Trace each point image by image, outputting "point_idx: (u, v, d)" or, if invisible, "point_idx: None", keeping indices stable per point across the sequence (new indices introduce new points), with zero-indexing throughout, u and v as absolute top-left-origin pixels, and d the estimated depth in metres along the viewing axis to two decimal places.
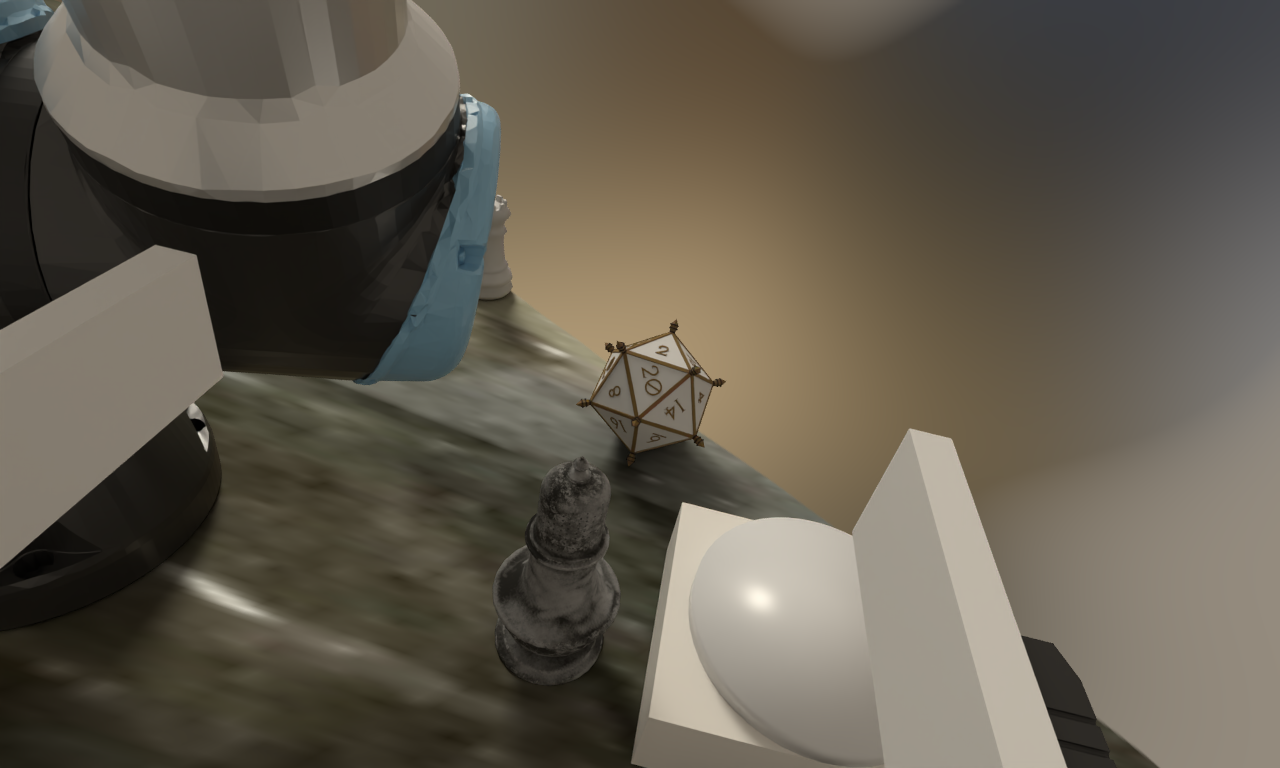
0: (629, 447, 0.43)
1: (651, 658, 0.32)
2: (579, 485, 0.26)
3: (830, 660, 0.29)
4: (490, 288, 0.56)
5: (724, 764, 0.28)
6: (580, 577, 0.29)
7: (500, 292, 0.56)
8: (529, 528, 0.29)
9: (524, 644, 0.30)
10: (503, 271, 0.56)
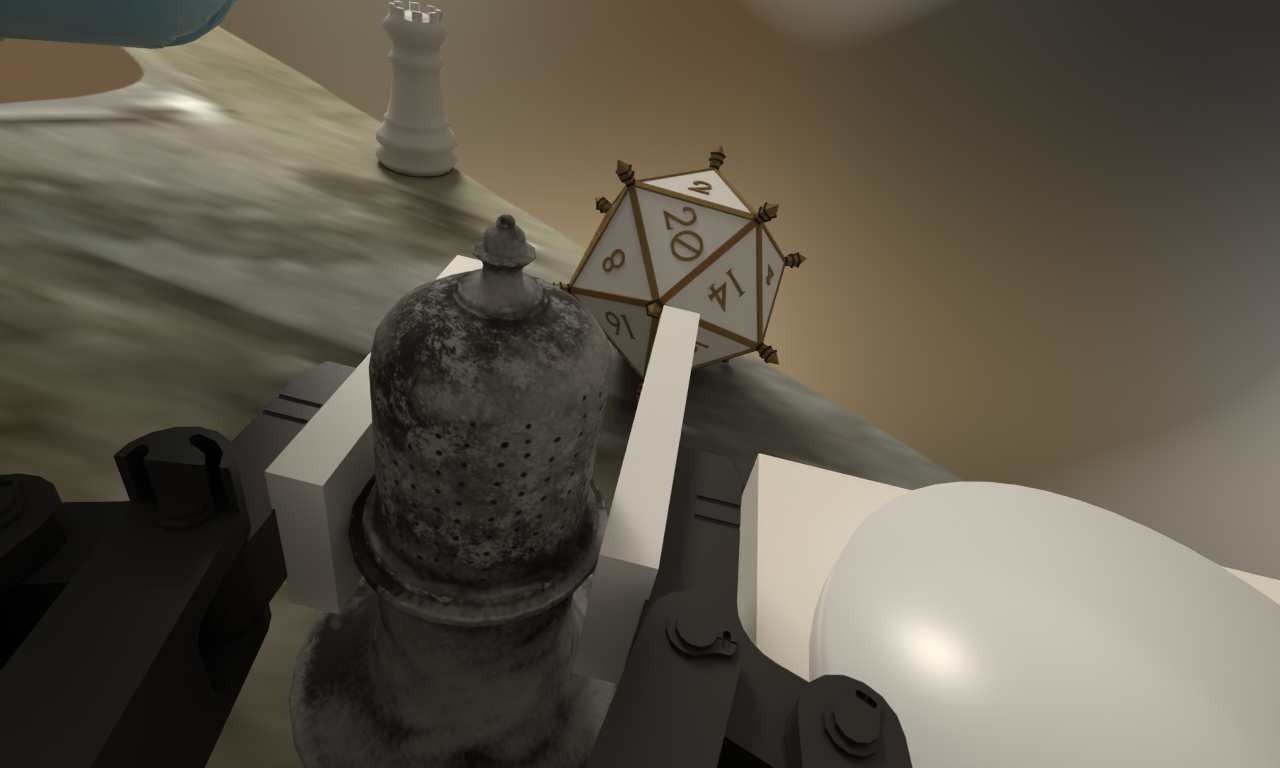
0: (640, 370, 0.24)
1: None
2: (498, 324, 0.07)
3: None
4: (421, 157, 0.37)
5: None
6: (523, 639, 0.10)
7: (437, 165, 0.37)
8: (367, 493, 0.10)
9: None
10: (441, 130, 0.37)
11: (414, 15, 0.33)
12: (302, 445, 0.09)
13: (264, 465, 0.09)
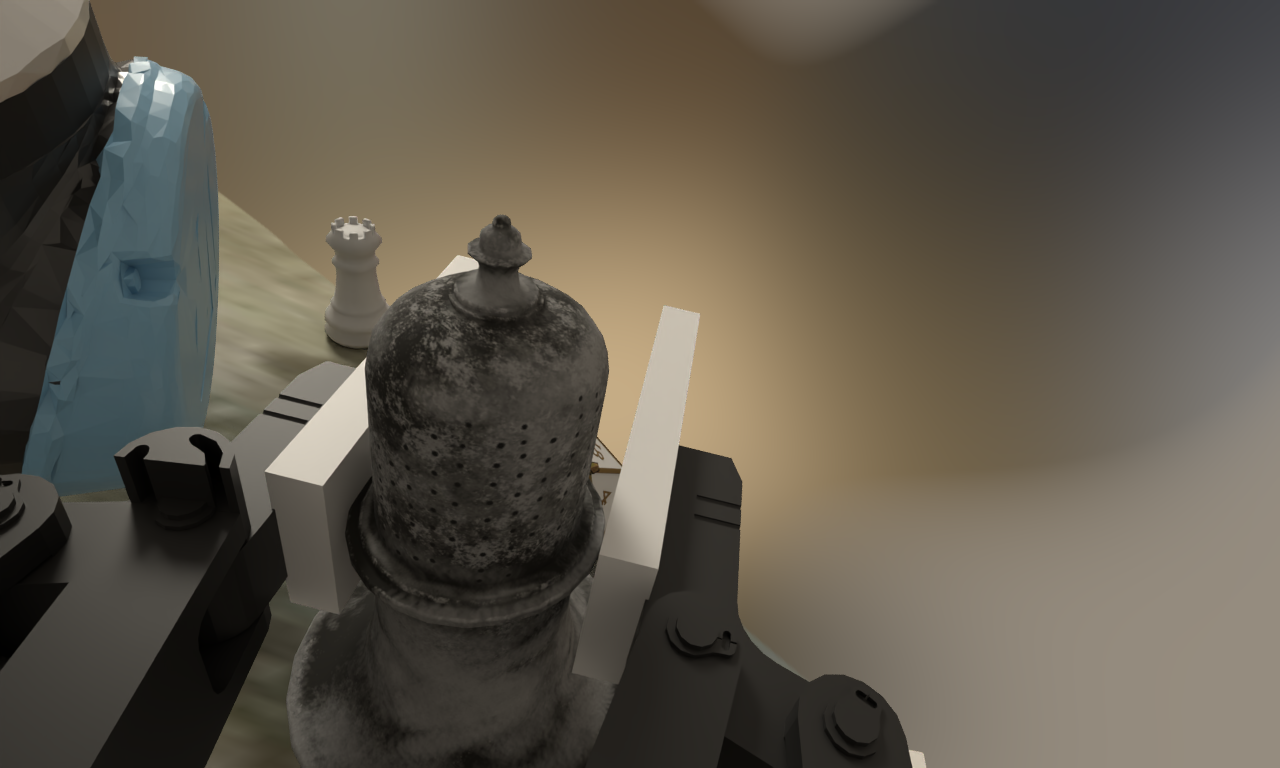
0: None
1: None
2: (494, 324, 0.07)
3: None
4: (362, 335, 0.45)
5: None
6: (520, 639, 0.10)
7: None
8: (364, 494, 0.10)
9: None
10: (379, 312, 0.45)
11: (351, 236, 0.41)
12: (302, 445, 0.09)
13: (264, 465, 0.09)
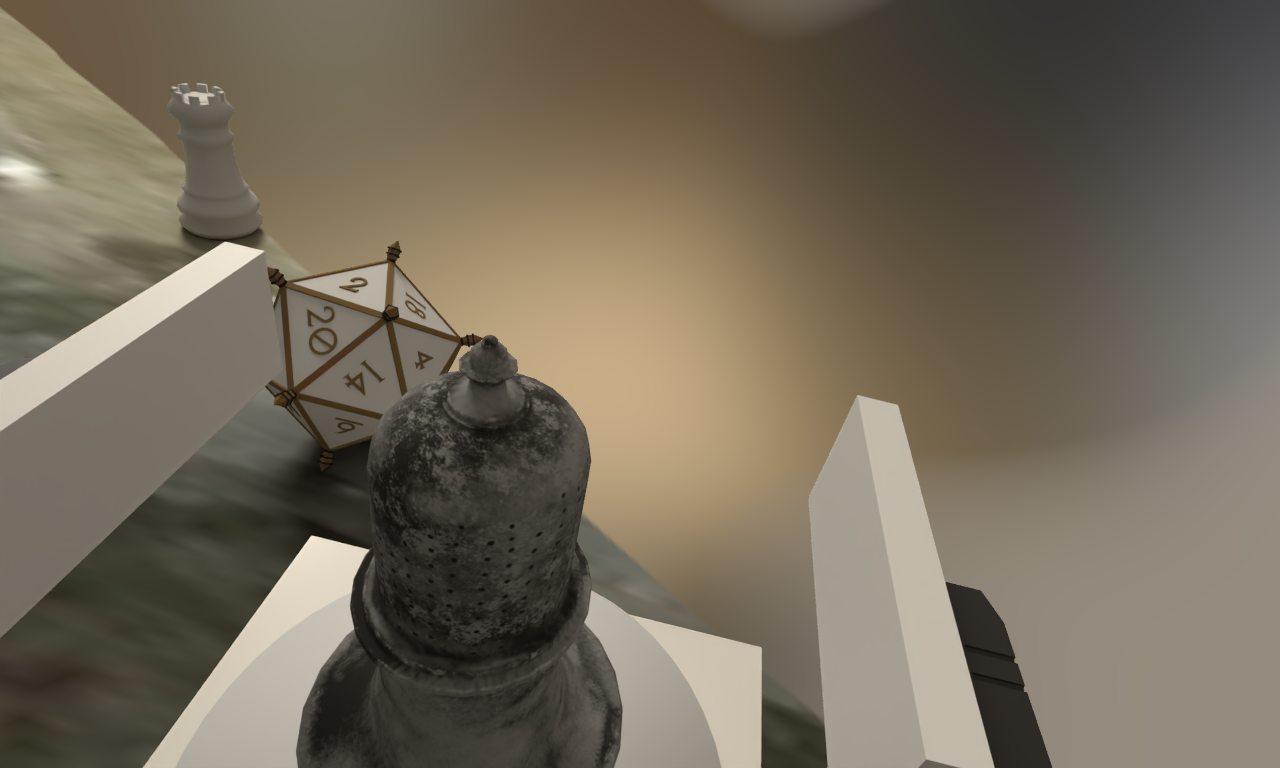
0: (319, 441, 0.27)
1: None
2: (483, 433, 0.08)
3: None
4: (218, 223, 0.40)
5: None
6: (512, 700, 0.10)
7: (236, 228, 0.40)
8: (367, 566, 0.10)
9: None
10: (237, 198, 0.40)
11: (191, 99, 0.36)
12: None
13: None
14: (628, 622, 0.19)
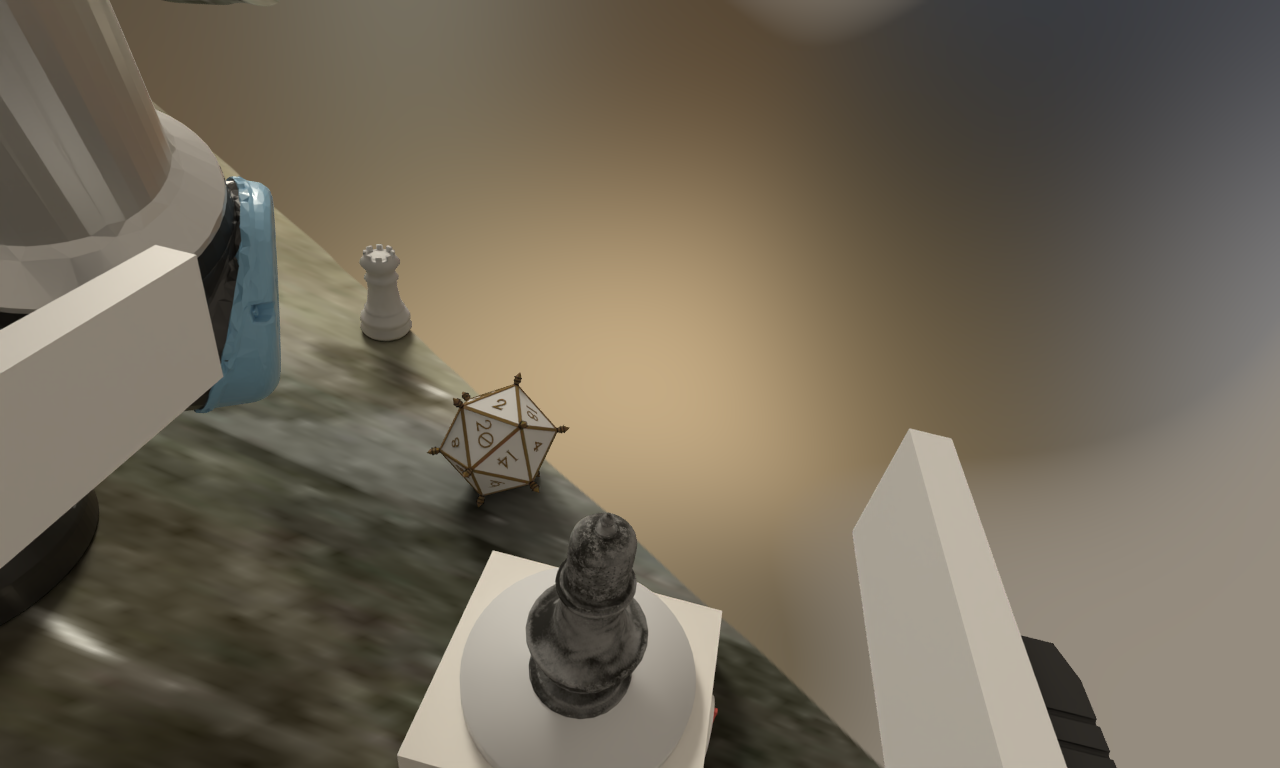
0: (477, 490, 0.48)
1: None
2: (606, 540, 0.27)
3: None
4: (387, 331, 0.60)
5: None
6: (609, 621, 0.30)
7: (397, 333, 0.61)
8: (559, 575, 0.30)
9: (556, 683, 0.31)
10: (399, 314, 0.60)
11: (377, 260, 0.56)
12: None
13: None
14: (653, 596, 0.38)
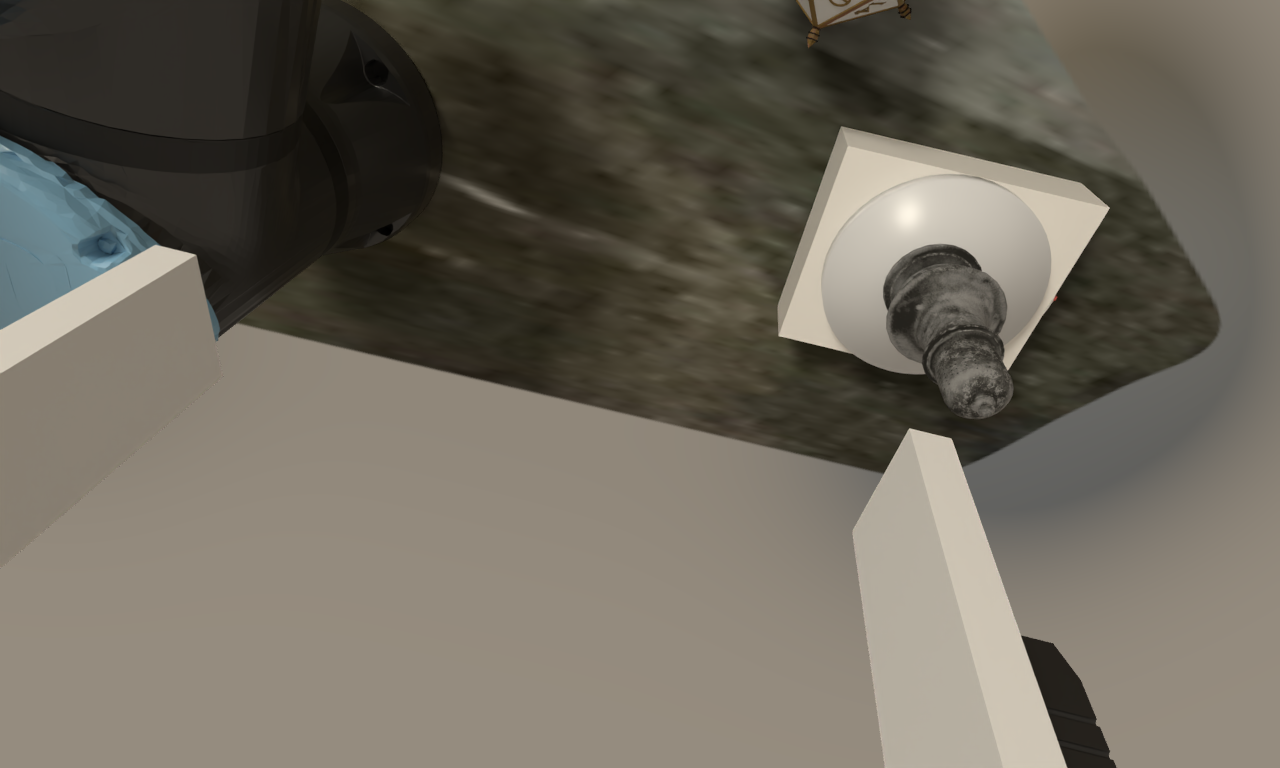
0: None
1: (798, 258, 0.42)
2: None
3: None
4: None
5: None
6: None
7: None
8: (927, 355, 0.32)
9: None
10: None
11: None
12: None
13: None
14: (1028, 214, 0.35)
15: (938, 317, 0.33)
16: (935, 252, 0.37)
